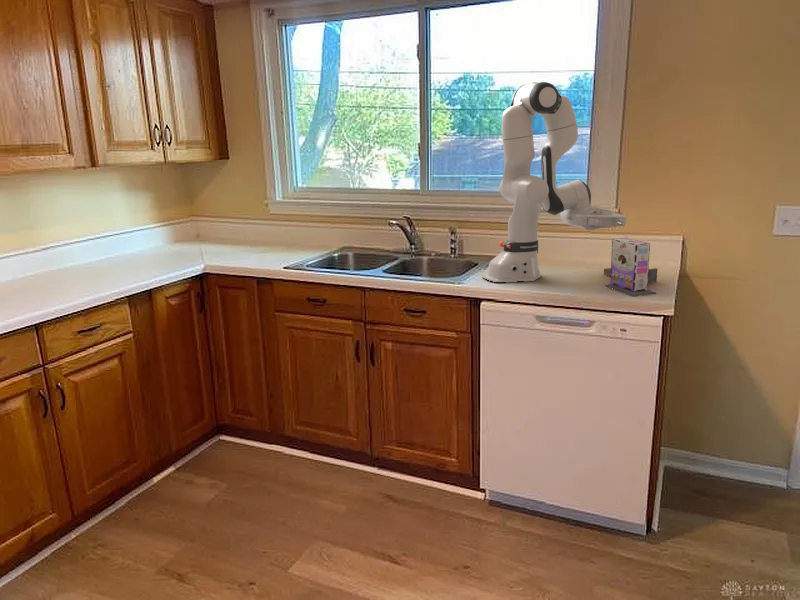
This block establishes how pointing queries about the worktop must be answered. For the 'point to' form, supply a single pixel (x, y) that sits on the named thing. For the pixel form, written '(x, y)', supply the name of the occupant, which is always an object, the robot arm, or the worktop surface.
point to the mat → (632, 293)
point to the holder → (651, 274)
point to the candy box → (630, 264)
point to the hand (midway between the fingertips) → (610, 222)
